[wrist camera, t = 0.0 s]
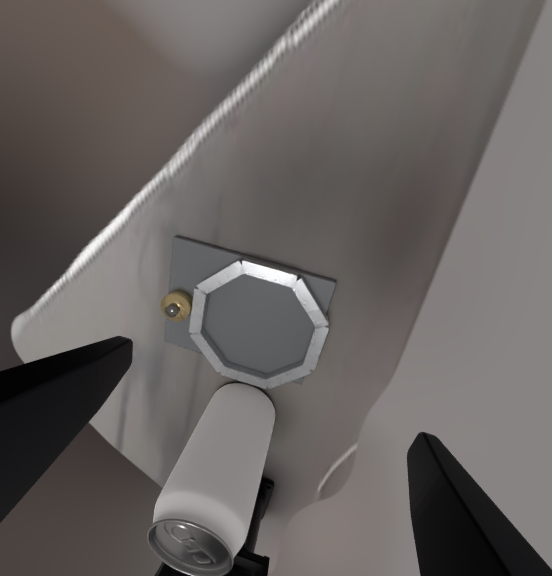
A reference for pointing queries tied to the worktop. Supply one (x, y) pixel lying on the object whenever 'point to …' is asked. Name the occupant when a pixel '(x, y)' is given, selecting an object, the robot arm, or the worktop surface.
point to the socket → (268, 274)
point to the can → (214, 484)
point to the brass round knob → (177, 305)
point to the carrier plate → (245, 309)
